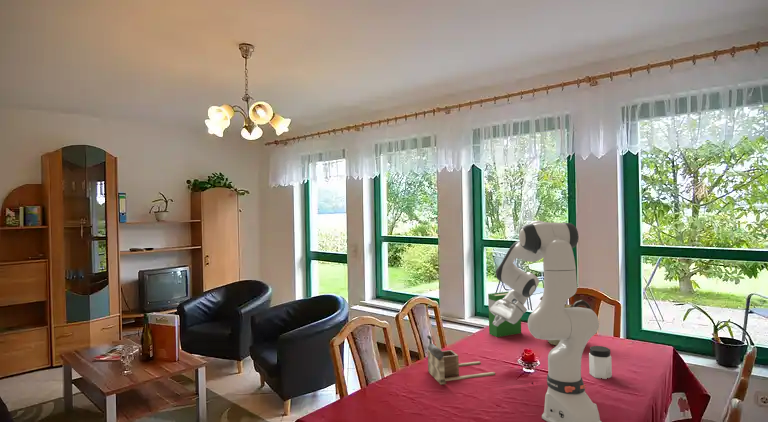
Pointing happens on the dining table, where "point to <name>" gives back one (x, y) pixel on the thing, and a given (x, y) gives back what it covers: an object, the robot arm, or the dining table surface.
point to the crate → (450, 363)
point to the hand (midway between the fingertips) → (494, 324)
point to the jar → (600, 362)
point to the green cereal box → (506, 326)
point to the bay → (438, 365)
